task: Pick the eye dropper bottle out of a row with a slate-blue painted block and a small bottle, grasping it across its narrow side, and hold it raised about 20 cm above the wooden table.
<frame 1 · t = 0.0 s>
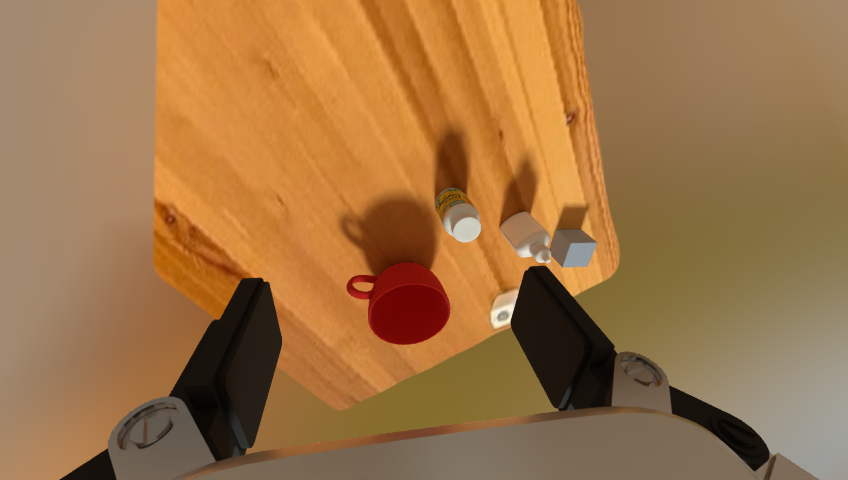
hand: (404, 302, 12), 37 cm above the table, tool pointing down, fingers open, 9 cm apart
slate block: (564, 240, 59), on the table
eye dropper bottle: (513, 222, 55), on the table
ceramic cup: (393, 273, 57), on the table
supplement bottle: (450, 201, 51), on the table
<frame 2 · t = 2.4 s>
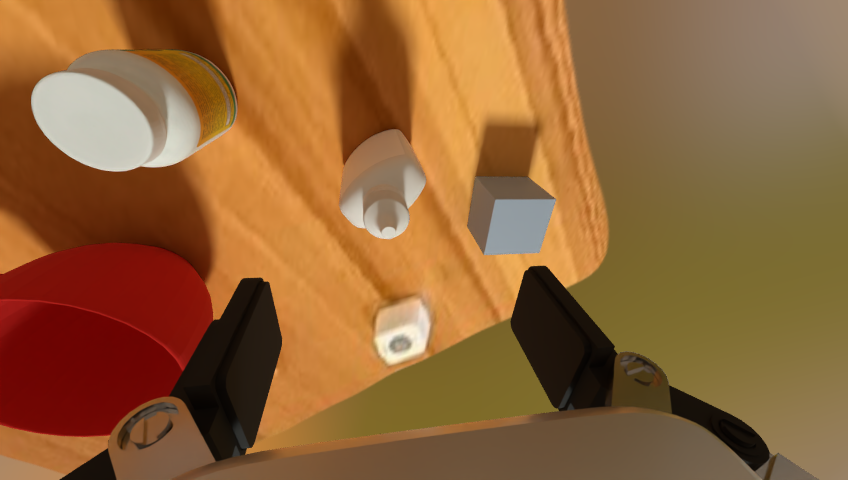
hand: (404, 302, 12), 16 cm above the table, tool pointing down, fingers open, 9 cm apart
slate block: (496, 201, 29), on the table
eye dropper bottle: (377, 157, 25), on the table
ceramic cup: (129, 268, 27), on the table
supplement bottle: (197, 95, 21), on the table
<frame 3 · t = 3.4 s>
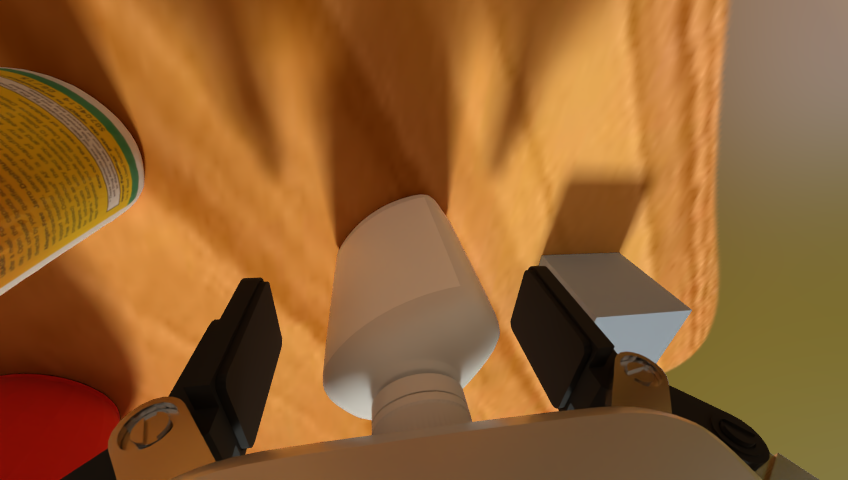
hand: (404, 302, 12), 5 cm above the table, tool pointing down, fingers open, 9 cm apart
slate block: (567, 286, 20), on the table
eye dropper bottle: (392, 234, 16), on the table
ceramic cup: (3, 402, 17), on the table
supplement bottle: (68, 147, 12), on the table
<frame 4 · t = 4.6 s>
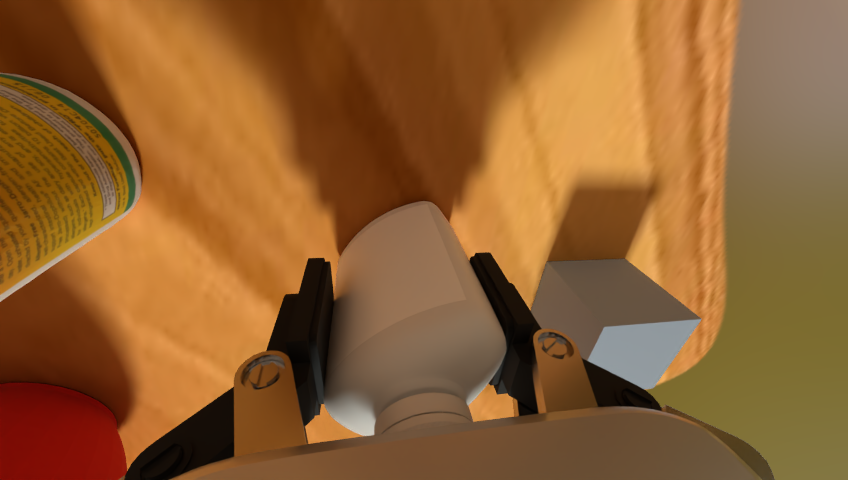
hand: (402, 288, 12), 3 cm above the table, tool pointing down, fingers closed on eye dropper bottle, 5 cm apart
slate block: (572, 293, 19), on the table
eye dropper bottle: (394, 241, 15), on the table, touching gripper
supplement bottle: (63, 153, 11), on the table
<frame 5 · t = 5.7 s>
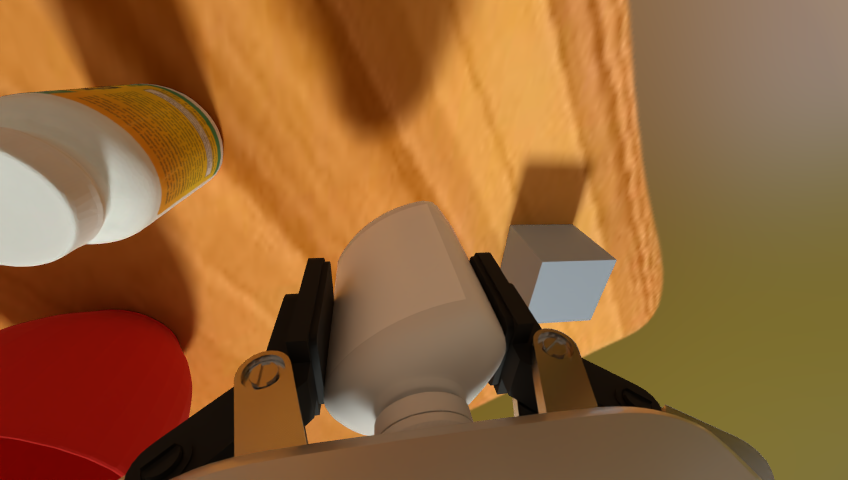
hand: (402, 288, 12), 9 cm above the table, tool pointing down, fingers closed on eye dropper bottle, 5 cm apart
slate block: (533, 252, 25), on the table
eye dropper bottle: (394, 241, 15), point 6 cm above the table, touching gripper
ceramic cup: (96, 334, 22), on the table
supplement bottle: (174, 136, 17), on the table
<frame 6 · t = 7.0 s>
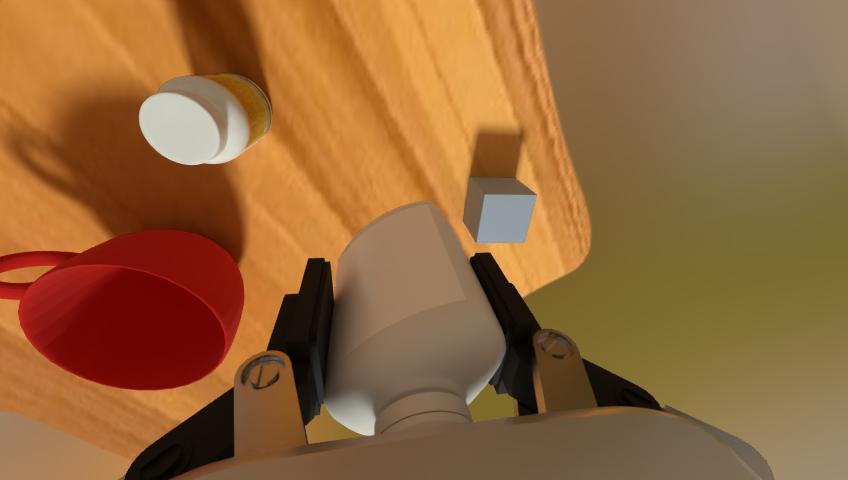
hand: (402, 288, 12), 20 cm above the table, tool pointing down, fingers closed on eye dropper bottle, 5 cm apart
slate block: (488, 199, 34), on the table
eye dropper bottle: (394, 241, 15), point 16 cm above the table, touching gripper
ceramic cup: (174, 254, 31), on the table
supplement bottle: (240, 108, 26), on the table
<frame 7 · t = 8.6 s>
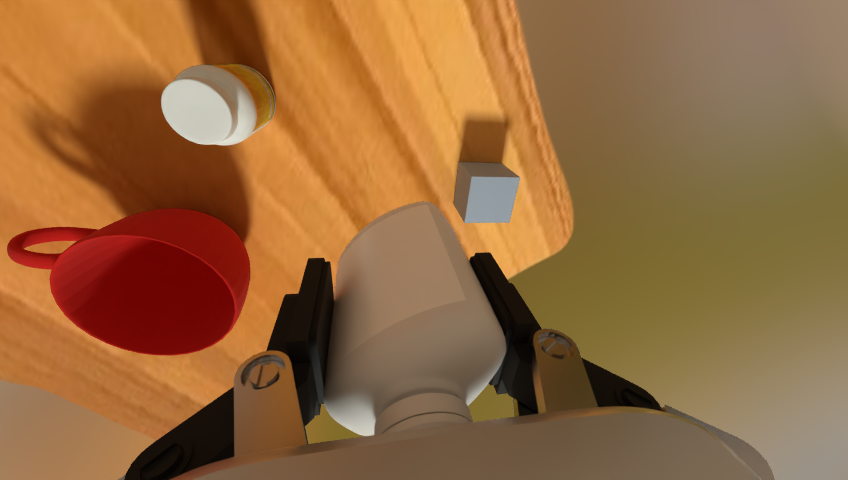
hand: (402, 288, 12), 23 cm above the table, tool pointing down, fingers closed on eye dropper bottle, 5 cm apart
slate block: (476, 183, 36), on the table
eye dropper bottle: (394, 241, 15), point 20 cm above the table, touching gripper
ceramic cup: (184, 234, 34), on the table
supplement bottle: (246, 96, 28), on the table
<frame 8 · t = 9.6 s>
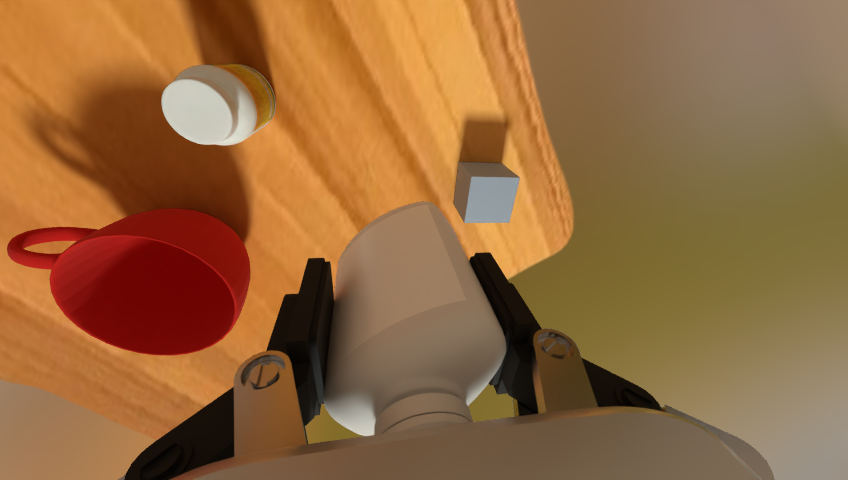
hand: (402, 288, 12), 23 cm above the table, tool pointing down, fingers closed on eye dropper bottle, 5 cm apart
slate block: (476, 183, 36), on the table
eye dropper bottle: (394, 241, 15), point 20 cm above the table, touching gripper
ceramic cup: (184, 234, 34), on the table
supplement bottle: (246, 96, 28), on the table
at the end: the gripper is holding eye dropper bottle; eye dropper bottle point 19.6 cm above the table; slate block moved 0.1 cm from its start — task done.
